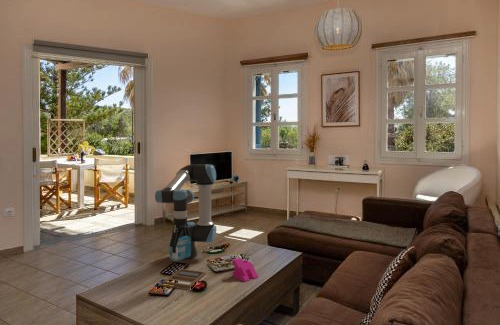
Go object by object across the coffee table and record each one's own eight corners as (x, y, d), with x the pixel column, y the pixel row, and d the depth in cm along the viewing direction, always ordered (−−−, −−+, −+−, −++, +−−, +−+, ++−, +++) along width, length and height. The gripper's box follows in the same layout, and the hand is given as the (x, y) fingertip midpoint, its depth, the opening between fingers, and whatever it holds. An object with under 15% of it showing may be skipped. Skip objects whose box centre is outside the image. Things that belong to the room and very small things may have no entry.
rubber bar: (181, 274, 231) (181, 271, 230) (199, 276, 227) (199, 273, 227) (178, 276, 227) (178, 273, 227) (196, 279, 223) (196, 276, 223)
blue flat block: (174, 261, 210) (173, 240, 209) (169, 260, 213) (169, 239, 212) (191, 256, 219) (191, 236, 218) (186, 254, 222) (186, 234, 221)
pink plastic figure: (232, 276, 231) (232, 259, 230) (245, 272, 238) (245, 256, 237) (245, 282, 222) (245, 265, 221) (258, 277, 229) (258, 261, 228)
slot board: (180, 272, 235) (180, 268, 235) (206, 276, 230) (206, 271, 230) (161, 286, 214) (161, 281, 214) (190, 290, 209) (190, 286, 209)
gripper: (184, 212, 227) (184, 247, 229) (163, 221, 203) (163, 260, 205) (196, 213, 225) (196, 248, 226) (175, 223, 201) (176, 262, 203)
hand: (180, 254), depth 216 cm, fingers closed on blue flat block, 13 cm apart
